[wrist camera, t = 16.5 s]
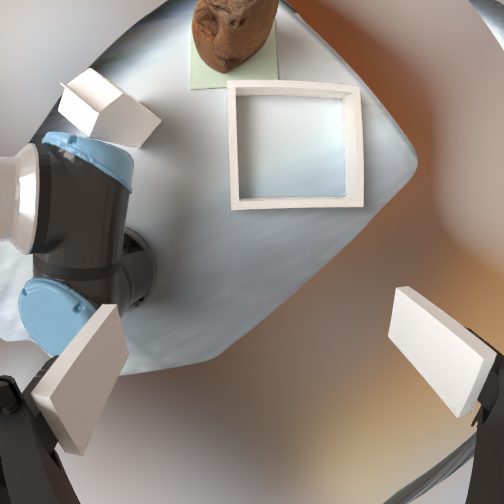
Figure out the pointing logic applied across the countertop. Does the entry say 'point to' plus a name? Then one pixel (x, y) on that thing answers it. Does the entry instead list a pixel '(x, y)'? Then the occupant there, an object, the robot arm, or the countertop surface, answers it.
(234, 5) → the brown rough stone
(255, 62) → the mat
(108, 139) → the milk
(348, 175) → the holder
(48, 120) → the countertop surface
